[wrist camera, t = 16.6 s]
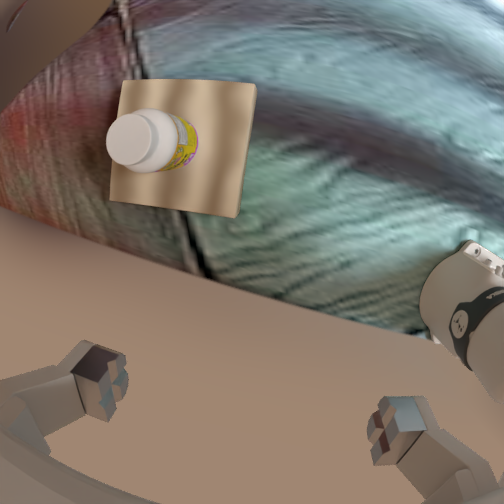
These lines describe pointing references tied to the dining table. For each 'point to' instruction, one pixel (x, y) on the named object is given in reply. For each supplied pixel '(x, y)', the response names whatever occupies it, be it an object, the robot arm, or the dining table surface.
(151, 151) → the supplement bottle
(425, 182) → the dining table surface
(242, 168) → the birch plinth
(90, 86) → the dining table surface
